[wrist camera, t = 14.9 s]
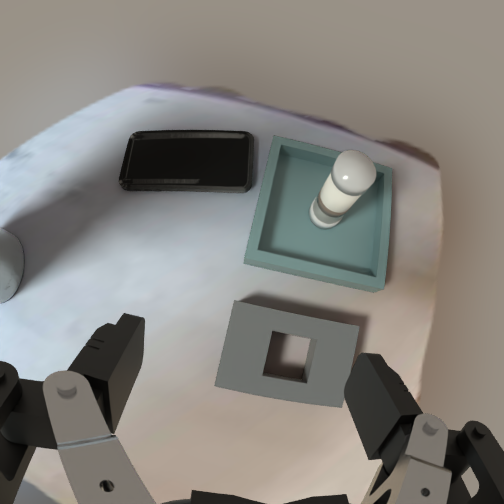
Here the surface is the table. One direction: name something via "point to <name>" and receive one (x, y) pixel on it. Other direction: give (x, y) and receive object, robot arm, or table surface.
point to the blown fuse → (342, 188)
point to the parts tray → (306, 233)
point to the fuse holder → (256, 347)
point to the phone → (188, 161)
